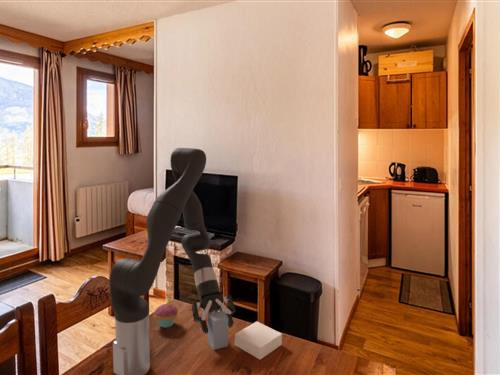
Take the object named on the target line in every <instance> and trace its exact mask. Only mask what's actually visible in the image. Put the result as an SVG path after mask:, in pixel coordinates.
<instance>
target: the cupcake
mask: <svg viewBox="0 0 500 375" xmlns="http://www.w3.org/2000/svg"><path fill="white" fill-rule="evenodd" d="M170 302H171V291H169V293H168V295H167V304H166V303H164V304H160V306H159V305H158V307H156V308H155V310H154V312H153V318H154V319H155V320H157V322H158V324H159V326H160V327H161V328H165V329H166V328H170V327H172V325H173V324H174V322H175V320H176V318H177V317H178V314H179V309H178V308H177V306H176V305H174V304H171V303H170Z"/></svg>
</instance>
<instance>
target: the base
mask: <svg viewBox="0 0 500 375" xmlns="http://www.w3.org/2000/svg"><path fill="white" fill-rule="evenodd" d="M282 338H283V333H281V332H279V331H277V330H275V329H273V328H271V327H269V326H267V325H265V324H263V323H261V322H259V321H255V322H253V323H252V324H250V325H248V326H246V327H245V328H242V329H241V330H239V331H237V332H236V333H235V334H234V346H236V347H238V348H239V349H241V350H242V351H244V352H246V353H248V354H249V355H252V356H253V357H254V358H256V359H258V360H259V361H260V360H262V359H263V358H265V357H266V356H268V355H269V354H271V353H272V352H274V351H275V350H276V349H277V348H279V347H280V346H282V340H283V339H282Z"/></svg>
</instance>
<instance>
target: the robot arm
mask: <svg viewBox="0 0 500 375" xmlns="http://www.w3.org/2000/svg"><path fill="white" fill-rule="evenodd" d="M206 155H207V154H206V153H205V152H204V150H203V149H200V148H192V147H186V148H185V147H177V148H174V150H172V152H171V155H170V160H169V161H170V168H171V173H172V175H173V179H174V183H173V184H172V185H171V186H169V187H167V189H165V190H164V191H162V192H161V193H160V194H159V195H158V196H157V197H156V199H155V200H154V202H153V204H152V205H151V208H150V210H149V211H148V213H147V216H146V230H147V231H146V232H147V246H146V249H145V252H144V254H143V256H142V258H141V260H136V259H131V258H121V259H118V260H117V261H115V263H114V264H113V266H112V267H111V271H110V274H109V293H110V301H111V309H112V310H113V312H114V313H113V314H114V325H115V326H114V327H115V329H114V330H115V332H114V333H115V340H113V342H112V358H113V359H112V360H113V373H114V374H115V375H146V374H147V373H149V371H150V369H151V366H150V365H151V364H150V363H151V359H150V356H151V355H150V354H151V352H150V306H149V303H148V301H147V300H146V299H145V298H143V296H145V295H146V294H147V293H148V292H150V290H151V288H152V287H153V285H154V282H155V280H156V277H157V275H158V272H159V269H160V267H161V263H162V261H163V258H164V255H165V252H166V249H167V247H168V244H169V242H170V239H171V237H172V235H173V233H174V231H175V229H176V227H177V224H178V223H179V221H180V218H181V216H182V215H183V217H182V218H183V225H184V228H185V230H188V231H197V232H193V233H187V234H185V235H183V237H182V238H181V247H182V249H183V252H184V253H185V254H186V256H187V257H188V259H189V261H190V264H191V266H192V272H193V274H194V275H193V276H194V281H195V287H196V291H197V293H198V294H197V295H198V298H199V301H198V302H197V301H194V302H192V304H191V309H192V318H193V321H194V322H195V323H200V326H201V331H202V333H204V334H205V335H208V332H209V331H208V322H207V320H206V318H207V316H208V314H210V313H214V312H219V311H223V312H224V313H225V315H226V316H227V317H228V329H230V328H231V329H232V327H233V325H234V324H235V323H234V319H233V314H234V313H235V312H236V307H235V306H236V305H235V304H234V301H233V298H232V295H230V294H228V295H226V296H222V293H221V292H222V291H221V288H220V285H219V282H218V278H217V274H216V272H215V269H214V266H213V262H212V260H211V256H210V255H209V254H207V253H197V252H201V251H206V250H208V249H209V248H210V247H211V238H210V235H209V234H208V231H207V229H206V226H205V222H204V215H203V214H204V213H203V207H202V203H201V201H200V199H199V198H198V195H197V194H196V193H195V192H194V189H195V186H196V185H197V183H198V182H199V180H200V178H201V177H202V175H203V173H204V171H205V169H206V164H207V156H206ZM224 302H225V304H224ZM226 304H227V306H228V307H227V306H226ZM200 308H202V309H203V311H202V314H201V316H200V314H199V309H200Z"/></svg>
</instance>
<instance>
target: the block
mask: <svg viewBox="0 0 500 375" xmlns="http://www.w3.org/2000/svg"><path fill="white" fill-rule="evenodd" d="M207 316H208V317H207V327H208V331H209V332H208V333H207V343H208V344H209V346H210V347H211V349H212V350H214V351H215V350H219V349H222V348H225V347H228V346H229V326H228V317H227V316H226V315H225V313H224V312H223V311H218V312H213V313H210V314H209V313H207Z"/></svg>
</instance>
